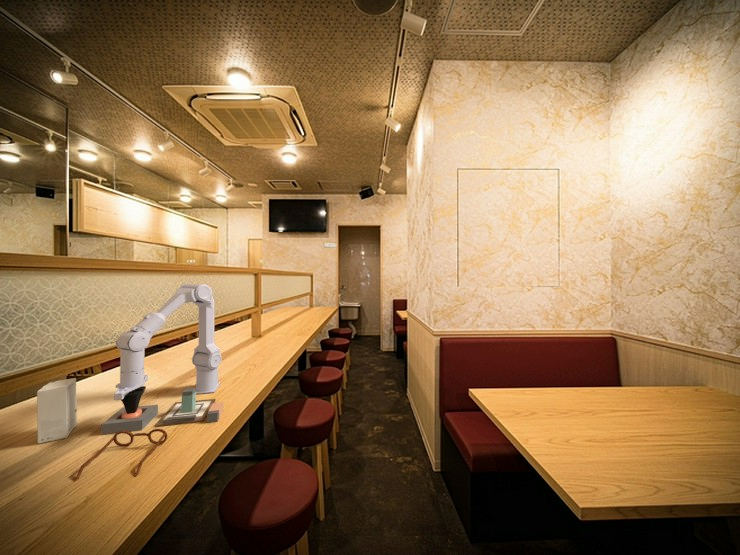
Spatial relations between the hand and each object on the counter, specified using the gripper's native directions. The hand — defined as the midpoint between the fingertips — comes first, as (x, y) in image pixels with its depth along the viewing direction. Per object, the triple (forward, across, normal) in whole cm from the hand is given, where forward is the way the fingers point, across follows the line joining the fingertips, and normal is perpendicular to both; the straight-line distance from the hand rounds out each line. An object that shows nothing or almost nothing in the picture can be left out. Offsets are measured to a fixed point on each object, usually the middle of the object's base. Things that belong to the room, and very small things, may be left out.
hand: (131, 412), depth 86 cm
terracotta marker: (+4, +1, +24) cm, 24 cm away
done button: (+3, 0, 0) cm, 3 cm away
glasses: (+4, +19, +8) cm, 21 cm away
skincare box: (+4, +2, -17) cm, 17 cm away
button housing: (+3, 0, 0) cm, 3 cm away
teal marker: (+3, -4, +14) cm, 15 cm away
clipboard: (+3, -4, +14) cm, 15 cm away
